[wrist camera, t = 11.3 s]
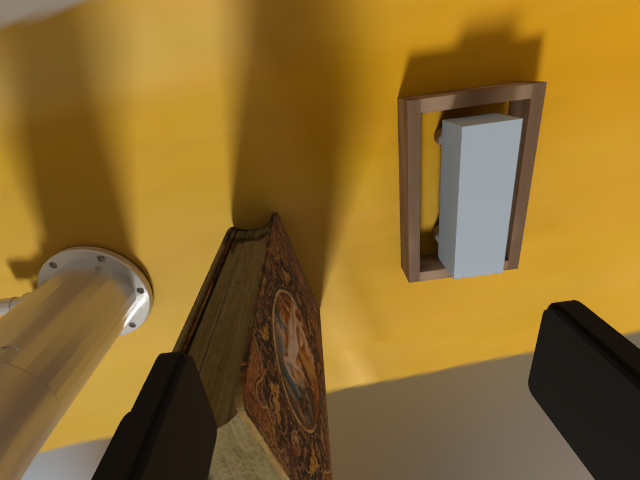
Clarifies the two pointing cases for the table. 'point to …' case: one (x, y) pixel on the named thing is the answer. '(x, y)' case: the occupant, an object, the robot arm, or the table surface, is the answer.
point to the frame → (522, 104)
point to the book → (261, 360)
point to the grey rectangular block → (477, 192)
